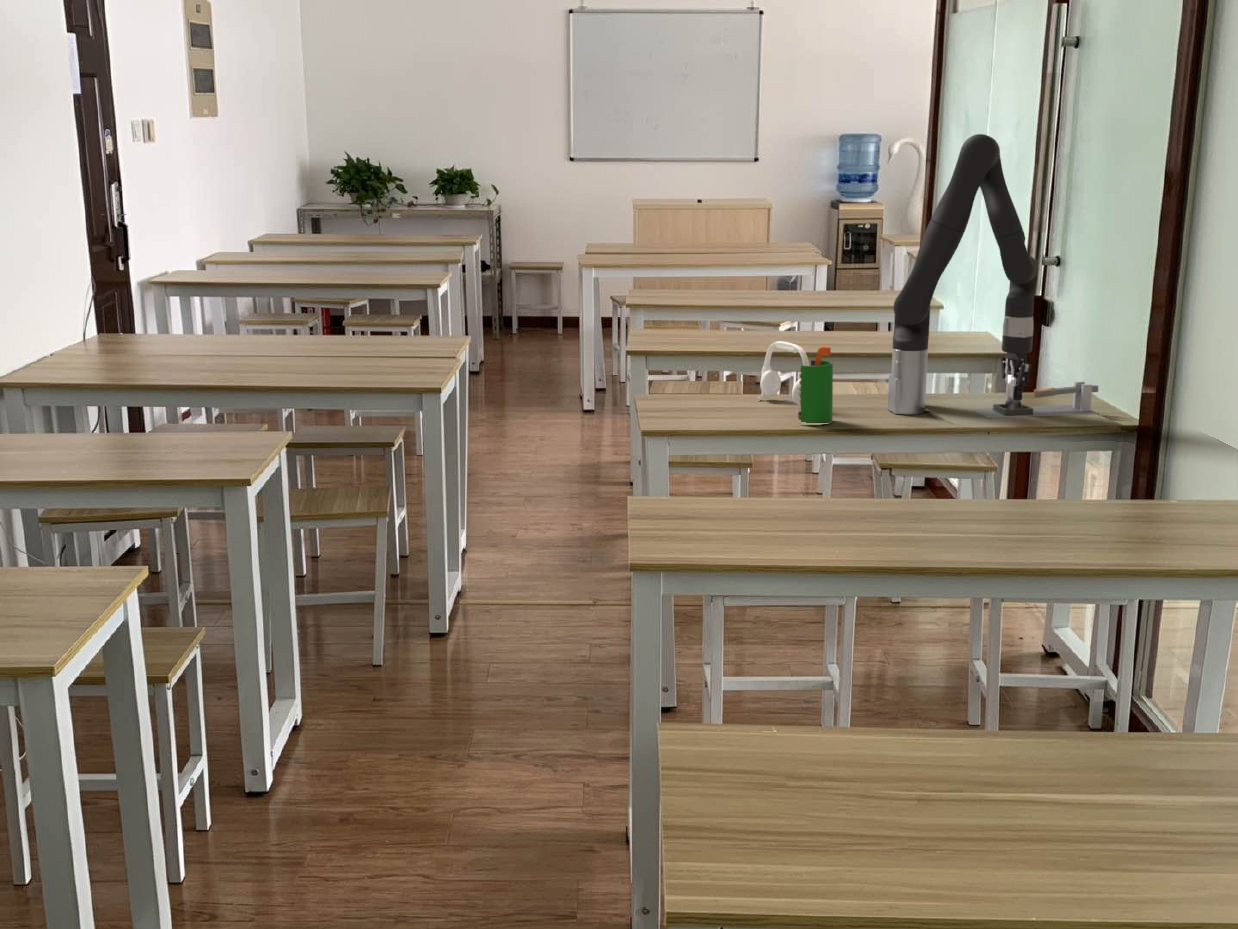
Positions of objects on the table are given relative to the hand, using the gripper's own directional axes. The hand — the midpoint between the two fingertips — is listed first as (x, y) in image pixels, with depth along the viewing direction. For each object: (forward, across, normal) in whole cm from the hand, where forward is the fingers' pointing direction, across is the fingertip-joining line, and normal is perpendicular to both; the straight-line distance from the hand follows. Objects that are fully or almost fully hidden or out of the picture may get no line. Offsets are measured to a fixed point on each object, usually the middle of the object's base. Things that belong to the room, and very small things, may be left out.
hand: (1013, 398), depth 326 cm
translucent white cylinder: (+4, 0, 0) cm, 4 cm away
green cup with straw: (+5, -5, -52) cm, 53 cm away
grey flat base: (+5, 0, +6) cm, 8 cm away
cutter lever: (0, 0, +15) cm, 15 cm away
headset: (+6, -28, -54) cm, 61 cm away
